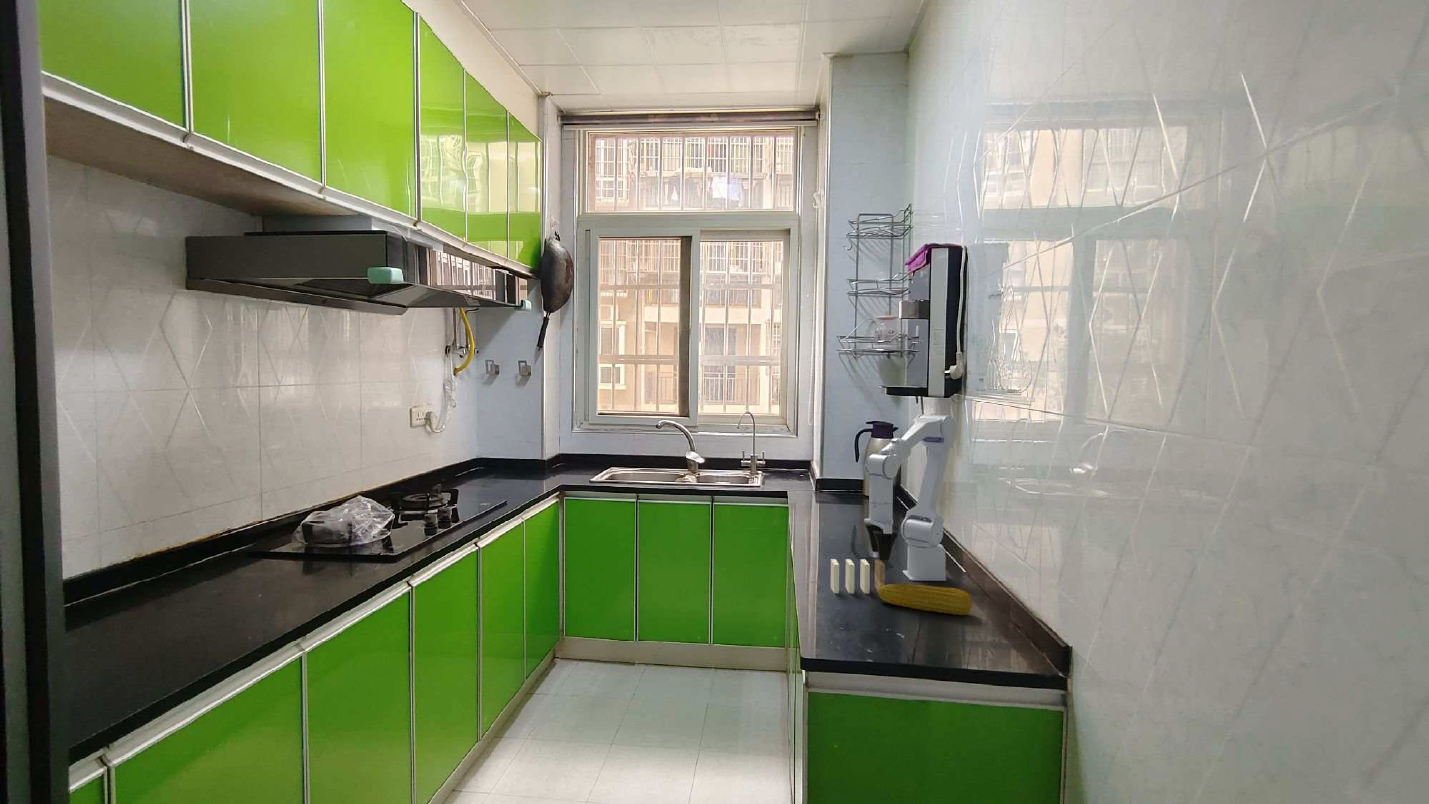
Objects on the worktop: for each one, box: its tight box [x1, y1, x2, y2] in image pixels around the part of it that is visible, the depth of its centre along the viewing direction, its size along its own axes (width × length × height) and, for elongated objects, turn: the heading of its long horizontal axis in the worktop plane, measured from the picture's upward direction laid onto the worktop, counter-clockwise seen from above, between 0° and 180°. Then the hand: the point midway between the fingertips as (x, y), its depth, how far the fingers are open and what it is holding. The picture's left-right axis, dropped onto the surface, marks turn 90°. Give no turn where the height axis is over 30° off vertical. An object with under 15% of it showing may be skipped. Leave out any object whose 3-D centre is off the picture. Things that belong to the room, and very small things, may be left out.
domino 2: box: [845, 558, 855, 594], centre depth 168 cm, size 1×5×7 cm, turn 0°
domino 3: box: [859, 558, 871, 595], centre depth 168 cm, size 1×5×7 cm, turn 0°
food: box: [877, 583, 973, 616], centre depth 155 cm, size 21×6×6 cm, turn 63°
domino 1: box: [830, 558, 840, 594], centre depth 168 cm, size 1×5×7 cm, turn 0°
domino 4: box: [874, 558, 886, 592], centre depth 168 cm, size 1×5×7 cm, turn 0°
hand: (880, 555), depth 168 cm, fingers open, 7 cm apart
